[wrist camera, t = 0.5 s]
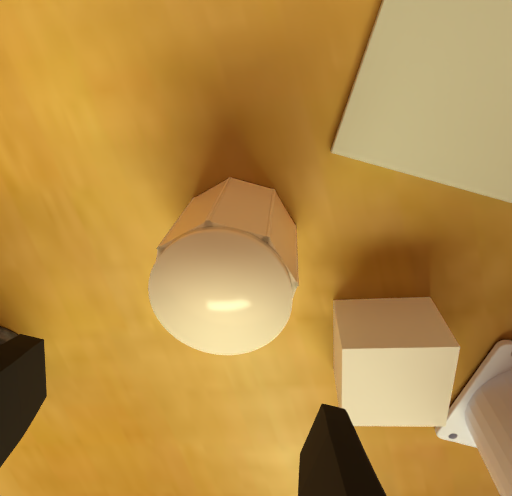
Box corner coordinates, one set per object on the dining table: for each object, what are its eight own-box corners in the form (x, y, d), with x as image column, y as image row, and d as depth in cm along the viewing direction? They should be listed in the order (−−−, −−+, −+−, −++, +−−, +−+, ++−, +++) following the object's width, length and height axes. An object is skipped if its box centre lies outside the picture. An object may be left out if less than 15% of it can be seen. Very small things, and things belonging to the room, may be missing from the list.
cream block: (429, 295, 20) (460, 346, 16) (420, 367, 22) (445, 426, 18) (332, 298, 20) (342, 349, 17) (333, 368, 22) (341, 426, 19)
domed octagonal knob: (306, 197, 18) (313, 255, 12) (276, 288, 20) (271, 369, 15) (197, 167, 17) (157, 213, 12) (180, 262, 20) (139, 336, 14)
